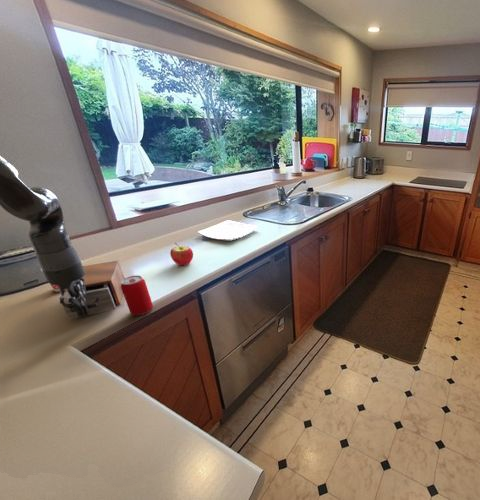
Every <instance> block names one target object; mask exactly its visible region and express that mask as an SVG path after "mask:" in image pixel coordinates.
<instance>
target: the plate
mask: <svg viewBox="0 0 480 500" xmlns="http://www.w3.org/2000/svg"><path fill="white" fill-rule="evenodd" d="M258 228H259V225H257V224H250V223H244V222H239V221H235V220H231V219H227V220H224V221H222V222H219V223H218V224H215V225H212V226H209V227H207V228H205V229H201V230H198V231H197V234H200V235H201V236H204V237H206V238H209V239H212V240H218V241H227V242H228V241H230V242H231V241H234V240H238V239H241V238H244V237H245V236H247V235H249V234H251V233H253V232H254V231H255V230H257V229H258Z"/></svg>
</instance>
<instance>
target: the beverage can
mask: <svg viewBox="0 0 480 500" xmlns="http://www.w3.org/2000/svg"><path fill="white" fill-rule="evenodd" d="M124 278H125V279H124V280H122V282H121V283H122V284H121V289H122V292H123V297H124V299H125V302H126V306H127V308H128V311H129V313H130V314H131V315H132V316H133V315H134V316H142V315H145V314H147V313H149V312H150V311H151V310H152V309H153V307H154V305H153V302H152V298H151V295H150V291H149V288H148V286H147V283H146V280H145V279H144V278H143V277H142V276H141V275H131V276H128V277H124Z"/></svg>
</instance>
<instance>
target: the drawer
mask: <svg viewBox="0 0 480 500" xmlns="http://www.w3.org/2000/svg"><path fill="white" fill-rule="evenodd" d="M86 295H87V297H85V299H86V302H85V303H86V305H87V308H88V310H89V314H88V315H87V316H89V315H95V314H99V313H104V312H107V311H112V310H116V309H117V305H116V306H115V303H114V302H115V297H114V295H113V292H112V290H111V287H110V284H109V283H106V284H100V285H95V286H89V287H86ZM60 299H64V296H62V295H60V296H59V300H60ZM62 307H63V309H64V311H65V314H66V316H67V318H68V320H71V319H76V318H79V317H78V315H77V313H76V310H75V308H73V309H69V308H67V307H65V306H64V305H62Z"/></svg>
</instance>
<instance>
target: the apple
mask: <svg viewBox="0 0 480 500" xmlns="http://www.w3.org/2000/svg"><path fill="white" fill-rule="evenodd" d="M174 245H176V246H175V247H172V248H171V249H170V252H169V254H170V258H171V260H172V261H173V262H174V263H175V264H176V265H179V266H185V265H188V264H190V263H191V262H192V260H193V259H194V251H193V250H192V248H191V247H189V246H186V245H178V243H176V242H174Z"/></svg>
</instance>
